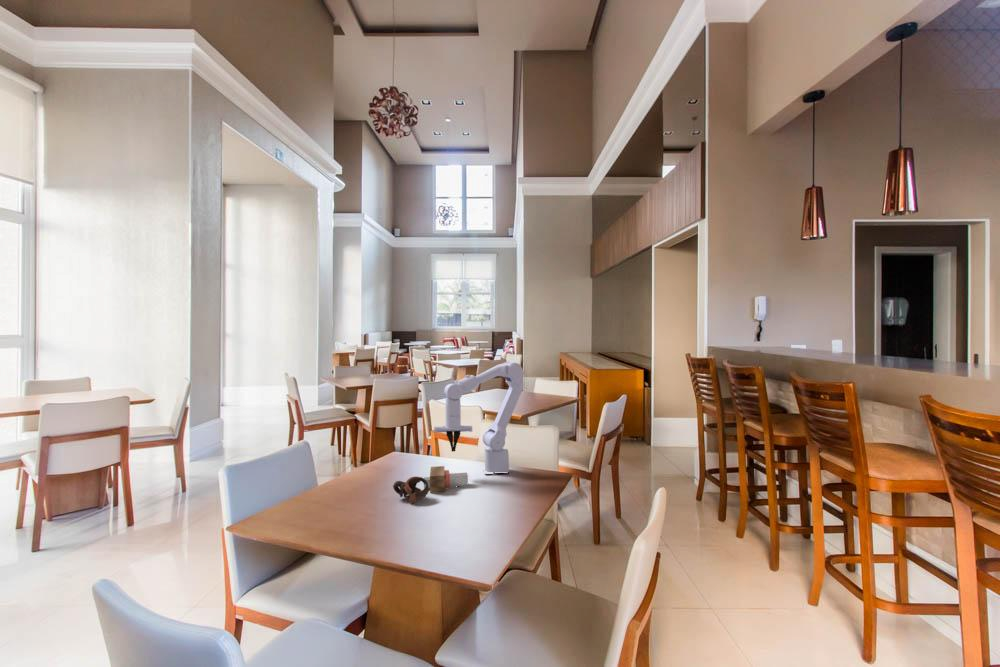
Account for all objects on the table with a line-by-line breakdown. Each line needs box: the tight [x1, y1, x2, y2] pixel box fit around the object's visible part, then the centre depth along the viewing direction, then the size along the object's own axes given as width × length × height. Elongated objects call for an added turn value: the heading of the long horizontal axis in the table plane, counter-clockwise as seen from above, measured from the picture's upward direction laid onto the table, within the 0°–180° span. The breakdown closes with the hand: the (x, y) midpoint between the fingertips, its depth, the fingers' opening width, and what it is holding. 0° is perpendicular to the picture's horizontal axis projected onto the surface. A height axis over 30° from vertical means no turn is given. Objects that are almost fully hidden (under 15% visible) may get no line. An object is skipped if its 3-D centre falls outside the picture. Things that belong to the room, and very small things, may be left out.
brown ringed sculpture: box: [392, 476, 430, 504], centre depth 157 cm, size 12×10×8 cm
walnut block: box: [429, 465, 446, 494], centre depth 169 cm, size 5×12×6 cm, turn 7°
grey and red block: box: [423, 469, 469, 489], centre depth 170 cm, size 16×6×5 cm, turn 100°
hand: (453, 450), depth 182 cm, fingers closed
